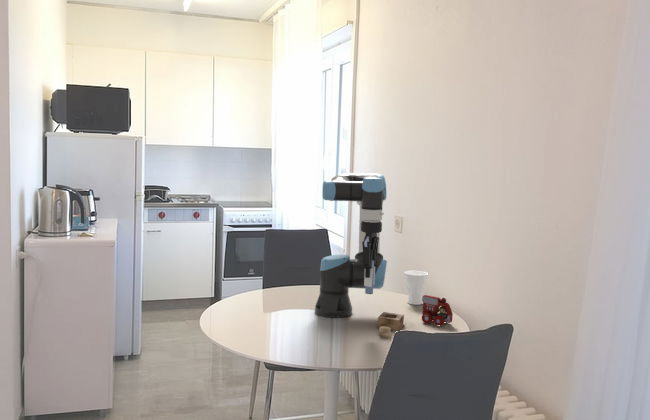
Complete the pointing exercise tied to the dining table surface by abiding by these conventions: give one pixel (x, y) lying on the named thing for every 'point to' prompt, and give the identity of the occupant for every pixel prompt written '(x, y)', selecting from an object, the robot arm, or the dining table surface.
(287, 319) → the dining table surface
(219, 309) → the dining table surface
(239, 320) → the dining table surface
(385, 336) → the loose oak bead
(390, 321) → the wooden block with hole
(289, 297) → the dining table surface
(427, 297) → the toy fire truck
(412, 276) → the cup
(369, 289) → the blue rectangular block
